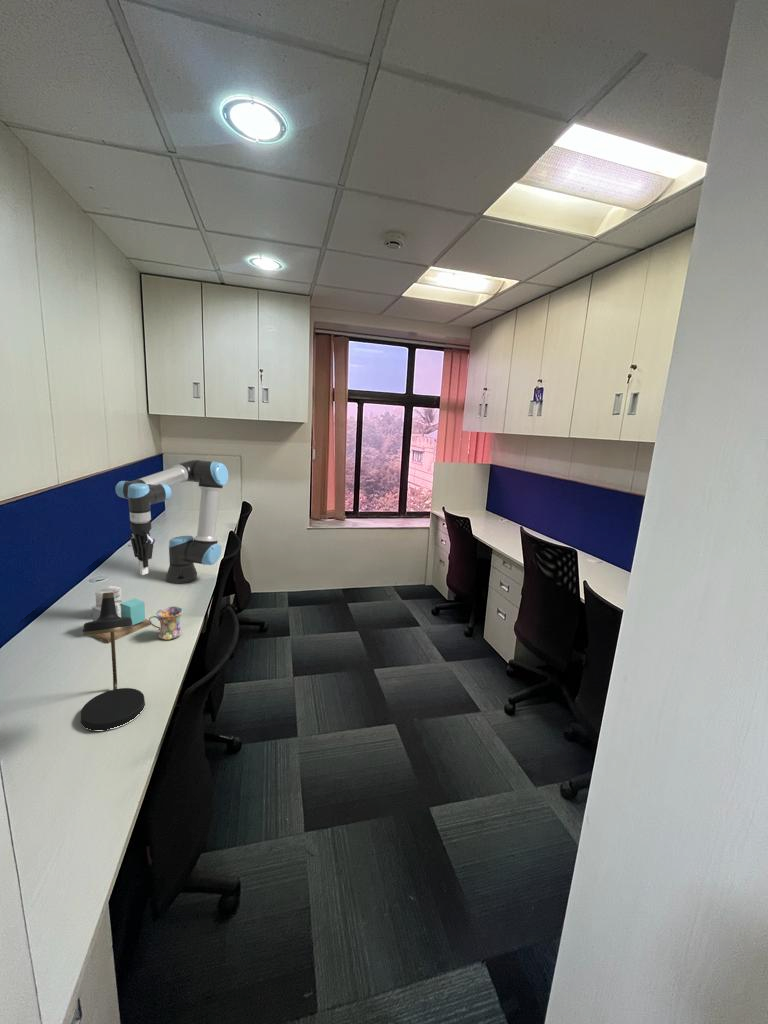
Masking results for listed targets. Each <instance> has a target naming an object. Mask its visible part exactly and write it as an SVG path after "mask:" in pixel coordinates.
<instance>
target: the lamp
mask: <svg viewBox="0 0 768 1024" xmlns="http://www.w3.org/2000/svg"><path fill="white" fill-rule="evenodd" d="M82 627H83V629H82V633H81V634H80V636H81V637H82V636H84V637H85V636H91V635H93V634H101V633H109V632H110V635H111V642H110V649H111V662H112V664H111V667H112V689H110V690H107V691H105V692H103V693H100V694H98V695H96V696H94V697H93V698H91V699H90V700H89V701H88V702H86V703H85V704H84V705H83V706H82V708H81V711H80V715H79V716H80V725H81V724H82V725H83V726H84V727H85V728H88V729H91V730H107V729H110V728H114V727H117V726H120V725H123V724H125V723H127V722H129V721H130V720H132V719H134V718H135V717H136V716H137V715H138V714H140V712H141V711H142V710H143V708H144V706H145V707H146V702H145V701H146V700H145V695H144V694H143V692H142V691H140V690H139V689H137V688H129V687H122V688H118V674H117V657H116V656H117V655H116V640H115V635H114V632H116V631H122V630H128V629H133V628H134V627H133V624H132V619H131V618H130V617H121V616H119V615H118V616H117V613H116V608H115V600H114V593H113V592H109V593H103V596H102V604H101V612H100V617H99V618H98V619H97V620H96V621H93V620H92V621H88V622H85V623H83V626H82ZM144 709H145V708H144ZM143 711H144V710H143ZM140 715H141V714H140ZM82 725H81V726H82ZM83 726H82V727H83ZM84 727H83V728H84ZM85 728H84V729H85Z"/></svg>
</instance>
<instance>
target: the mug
mask: <svg viewBox="0 0 768 1024" xmlns="http://www.w3.org/2000/svg"><path fill="white" fill-rule="evenodd" d="M183 611H184V610H183V608H182V607H178V606H166V607H162V608H160V609H159V610H157V611H156V615H152V616H150V617H149V618H148V620H149V622H150V624H151V625H150V626H152V627H154V628H156V629H158V630H157V631H158V638H159V639H162V640H173V639H176V638H179V637H180V636H181V635H182V633H183V630H182V629H181V627H180V621H181V616H182V614H183ZM152 618H153V619H154V618H156V620H157V619H158V621H159V622H160V623H159V624H160V626H157V625H155V624H154V623H153V622H152V620H151V619H152Z"/></svg>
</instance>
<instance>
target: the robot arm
mask: <svg viewBox="0 0 768 1024" xmlns="http://www.w3.org/2000/svg"><path fill="white" fill-rule="evenodd" d="M228 481H229V471H228V469H227V467H226V465H225V464H224V463H222V462H217V461H209V460H201V459H192V460H188V461H183V462H179V463H177V464H174V465H173V466H172V467H171V468H168V469H164V470H162V471H158V472H155V473H152V474H150V475H146V476H143V477H141V478H137V479H135V480H131V481H129V480H121V481H118V482H117V484H116V485H115V488H114V489H115V494H116V495H117V497H119V498H122V499H127V500H128V508H129V521H130V523H129V524H130V525H129V526H130V531H132V534H129V535H128V537H129V539H130V542H131V543H130V544H131V547H132V551H133V555H134V557H135V558H137V560H138V566H139V574H140V575H142V576H144V575H146V574H149V560H152V558H153V552H154V551H153V549H154V544H155V541H156V539H155V538H151V534H150V531H151V530H152V521H151V520H152V515H151V505H154V504H158V503H163V502H165V501H168V500H169V499H170V498H171V497H172V489H171V487H170V486H172V485H174V484H177V483H180V484H181V483H182V484H183V483H186V482H192V483H198V488H199V489H200V490H201V492H200V502H199V503H200V504H199V511H198V513H199V514H198V524H197V535H196V536H195V537H194V536H192V535H180V536H175V537H172V538H171V539H170V540H169V541H168V557H169V562H168V563H169V566H168V569H167V573H166V575H165V578H166V579H165V580H166V581H167V582H168V583H171V584H186V583H187V584H188V583H191V582H193V581H196V579H198V572H197V569H196V567H195V564H199V565H204V566H212V565H215V564H216V563H217V562H218V560H220V558H221V555H222V551H223V550H222V545H220V543H218V540H219V539H218V538H217V537H216V529H217V517H218V510H219V509H218V507H219V497H220V491H222V490H223V488H224V487H223V486H225V485H227V484H228Z"/></svg>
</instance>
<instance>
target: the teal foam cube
mask: <svg viewBox="0 0 768 1024" xmlns="http://www.w3.org/2000/svg"><path fill="white" fill-rule="evenodd" d="M145 607H146V606H145V601H143V600H141V599H138V598H132V599H128V600H126V601H123V602H121V613H120V617H130V618H131V619H132V624H133V625H135V624H137V623H140V622H142V621H144V620H145V619H146V609H145Z"/></svg>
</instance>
